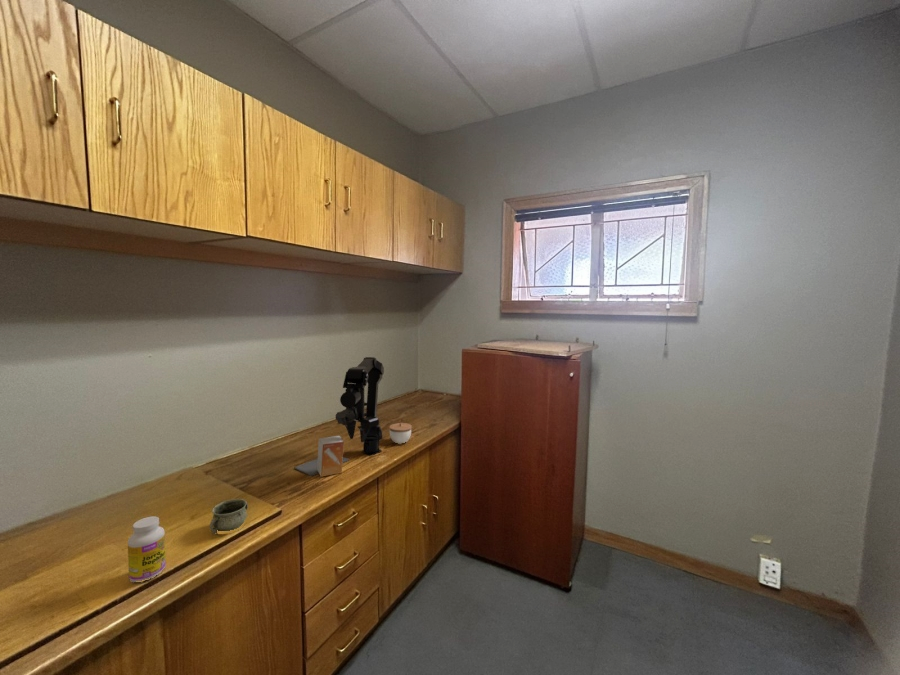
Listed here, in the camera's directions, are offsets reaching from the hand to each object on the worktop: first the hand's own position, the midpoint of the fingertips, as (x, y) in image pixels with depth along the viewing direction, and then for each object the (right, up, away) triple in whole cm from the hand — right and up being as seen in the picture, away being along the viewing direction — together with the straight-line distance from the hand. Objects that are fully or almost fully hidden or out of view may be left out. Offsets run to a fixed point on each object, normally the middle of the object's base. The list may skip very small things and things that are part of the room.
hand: (357, 440), depth 138 cm
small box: (-11, -13, +1) cm, 17 cm away
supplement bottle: (-36, -16, -53) cm, 66 cm away
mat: (-16, -12, +8) cm, 22 cm away
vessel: (-28, -15, -35) cm, 47 cm away
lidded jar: (+12, -11, +35) cm, 39 cm away
